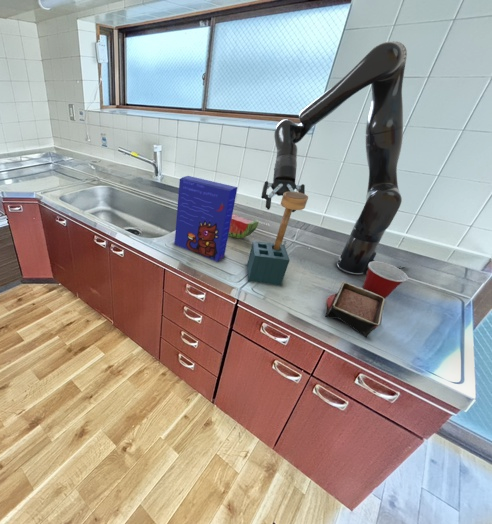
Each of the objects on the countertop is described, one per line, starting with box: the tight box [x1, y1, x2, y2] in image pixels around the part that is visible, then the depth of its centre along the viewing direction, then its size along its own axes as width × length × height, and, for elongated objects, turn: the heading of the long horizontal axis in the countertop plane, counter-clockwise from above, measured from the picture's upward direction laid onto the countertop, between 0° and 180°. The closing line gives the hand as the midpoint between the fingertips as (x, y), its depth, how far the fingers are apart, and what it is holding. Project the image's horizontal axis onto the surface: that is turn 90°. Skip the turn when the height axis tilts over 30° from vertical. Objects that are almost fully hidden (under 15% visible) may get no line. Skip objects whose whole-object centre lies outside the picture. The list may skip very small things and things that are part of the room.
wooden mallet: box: [273, 191, 309, 250], centre depth 100 cm, size 8×7×32 cm
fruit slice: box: [228, 213, 259, 239], centre depth 137 cm, size 26×6×10 cm, turn 39°
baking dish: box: [324, 282, 386, 339], centre depth 87 cm, size 14×18×10 cm
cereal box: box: [174, 175, 238, 263], centre depth 117 cm, size 22×6×30 cm, turn 48°
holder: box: [246, 240, 290, 287], centre depth 107 cm, size 11×11×11 cm
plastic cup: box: [362, 260, 409, 300], centre depth 95 cm, size 11×11×12 cm
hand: (281, 210), depth 104 cm, fingers open, 8 cm apart
